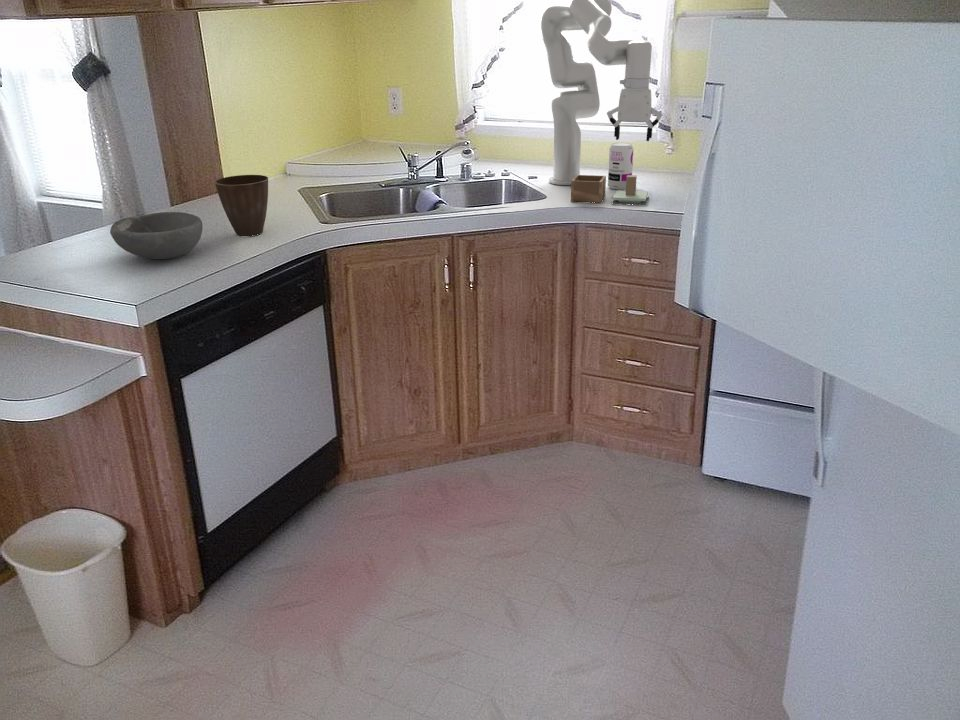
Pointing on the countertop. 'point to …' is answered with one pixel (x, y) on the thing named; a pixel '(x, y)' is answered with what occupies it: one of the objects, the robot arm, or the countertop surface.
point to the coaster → (631, 202)
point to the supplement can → (619, 165)
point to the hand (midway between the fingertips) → (632, 139)
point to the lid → (630, 192)
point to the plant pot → (244, 202)
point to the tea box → (588, 188)
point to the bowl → (158, 234)
